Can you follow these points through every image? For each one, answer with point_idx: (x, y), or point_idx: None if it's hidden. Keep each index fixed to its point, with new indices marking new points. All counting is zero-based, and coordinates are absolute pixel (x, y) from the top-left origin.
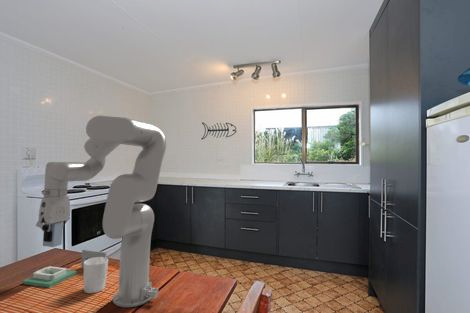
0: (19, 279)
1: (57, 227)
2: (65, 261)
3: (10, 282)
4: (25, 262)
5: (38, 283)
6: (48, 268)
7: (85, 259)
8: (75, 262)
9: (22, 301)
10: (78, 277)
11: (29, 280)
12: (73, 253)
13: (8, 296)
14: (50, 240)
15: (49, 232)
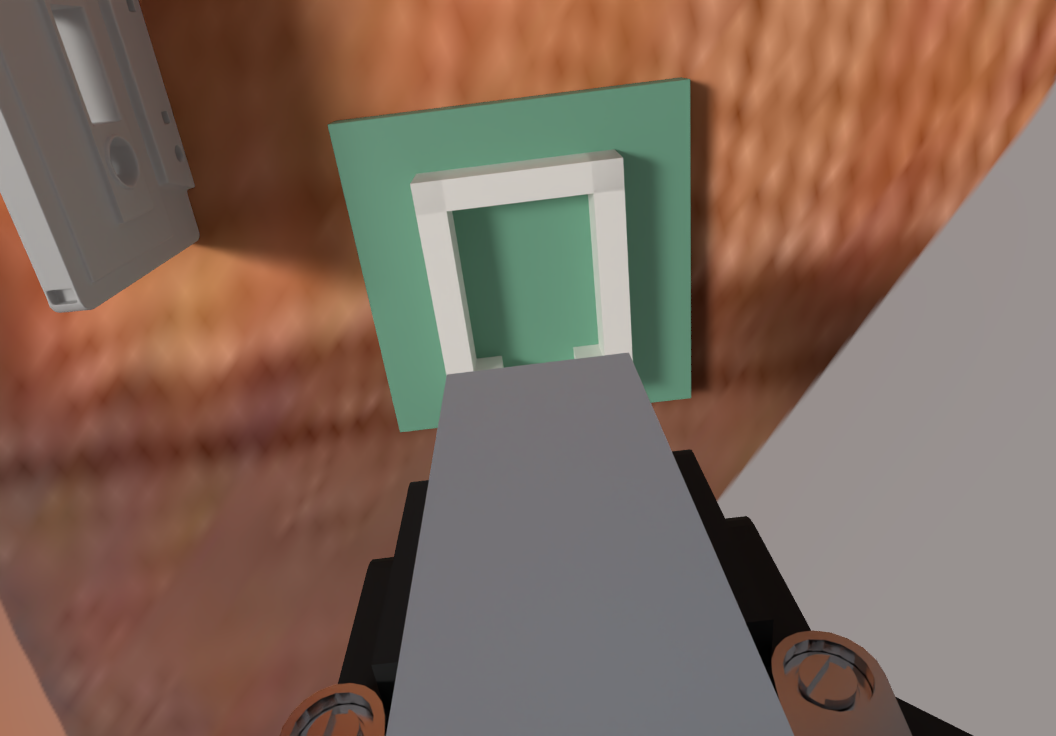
0: None
1: (633, 670)
2: (205, 513)
3: None
4: None
5: (687, 226)
6: None
7: (138, 194)
8: (158, 415)
9: (957, 40)
10: (382, 13)
11: (676, 349)
12: (47, 618)
13: (890, 256)
14: (695, 459)
15: (762, 630)
